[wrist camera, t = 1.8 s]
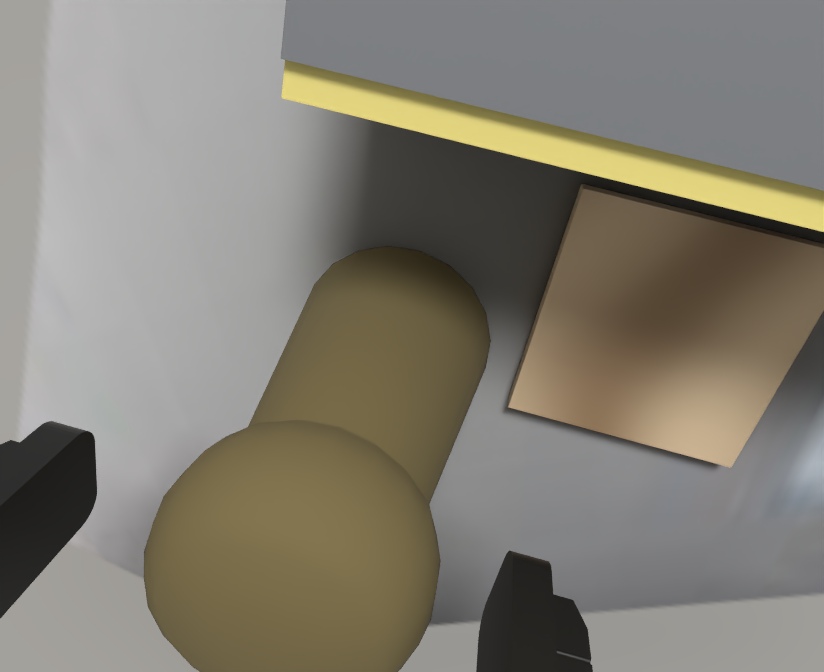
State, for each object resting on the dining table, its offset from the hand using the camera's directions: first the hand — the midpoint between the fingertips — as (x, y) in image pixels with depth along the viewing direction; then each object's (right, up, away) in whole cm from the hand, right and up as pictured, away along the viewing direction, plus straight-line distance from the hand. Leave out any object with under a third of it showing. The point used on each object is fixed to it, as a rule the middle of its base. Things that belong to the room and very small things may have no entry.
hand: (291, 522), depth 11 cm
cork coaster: (+9, +4, +6) cm, 12 cm away
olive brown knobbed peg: (+2, +4, +8) cm, 9 cm away
